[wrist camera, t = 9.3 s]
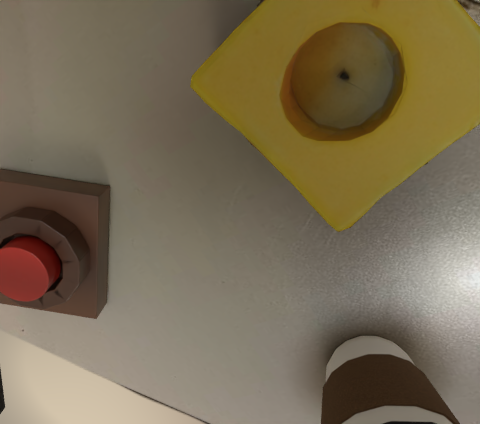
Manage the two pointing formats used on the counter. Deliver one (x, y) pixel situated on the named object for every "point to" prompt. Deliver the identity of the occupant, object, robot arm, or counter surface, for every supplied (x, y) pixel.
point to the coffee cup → (379, 387)
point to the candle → (347, 92)
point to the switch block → (61, 236)
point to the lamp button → (27, 268)
